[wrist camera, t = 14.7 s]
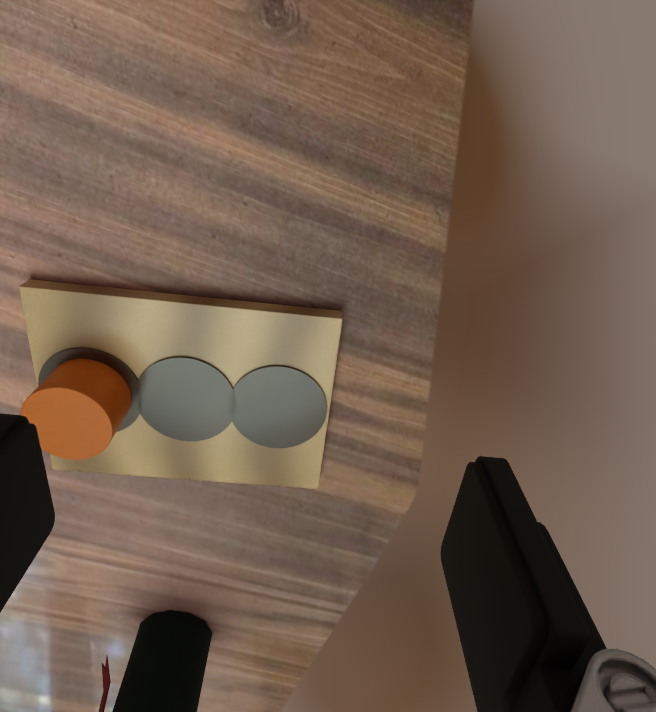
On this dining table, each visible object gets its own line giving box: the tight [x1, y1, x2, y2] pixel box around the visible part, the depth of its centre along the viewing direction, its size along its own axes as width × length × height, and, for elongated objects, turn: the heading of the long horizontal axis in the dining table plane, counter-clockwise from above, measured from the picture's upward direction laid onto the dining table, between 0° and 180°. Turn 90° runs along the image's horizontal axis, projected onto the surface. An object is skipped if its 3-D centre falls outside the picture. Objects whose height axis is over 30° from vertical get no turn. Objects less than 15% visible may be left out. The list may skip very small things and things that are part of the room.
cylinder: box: [21, 359, 131, 460], centre depth 35 cm, size 6×6×4 cm
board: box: [19, 279, 343, 489], centre depth 38 cm, size 22×16×2 cm
